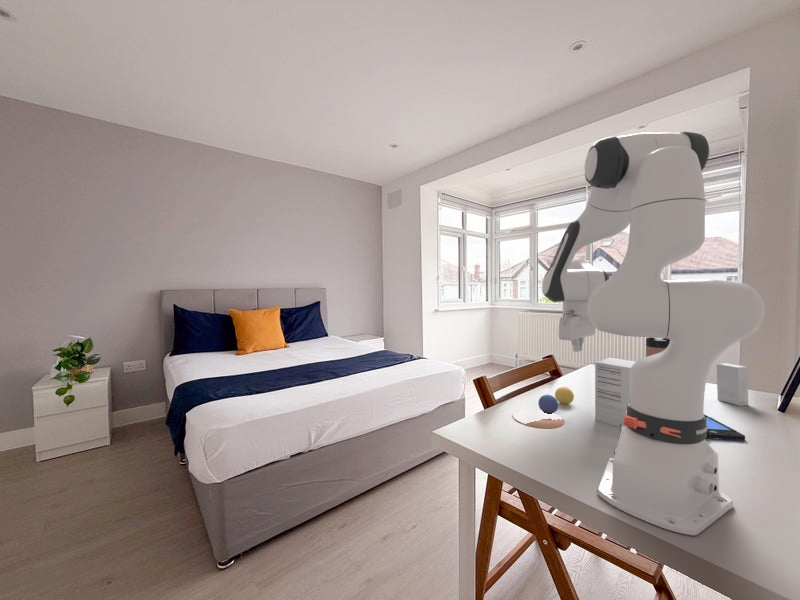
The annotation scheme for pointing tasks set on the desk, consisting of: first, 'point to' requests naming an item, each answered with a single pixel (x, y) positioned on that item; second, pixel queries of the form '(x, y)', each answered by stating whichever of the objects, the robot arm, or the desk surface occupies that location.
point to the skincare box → (732, 383)
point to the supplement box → (612, 390)
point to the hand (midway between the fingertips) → (577, 351)
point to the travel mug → (656, 345)
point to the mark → (547, 423)
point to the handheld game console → (721, 431)
